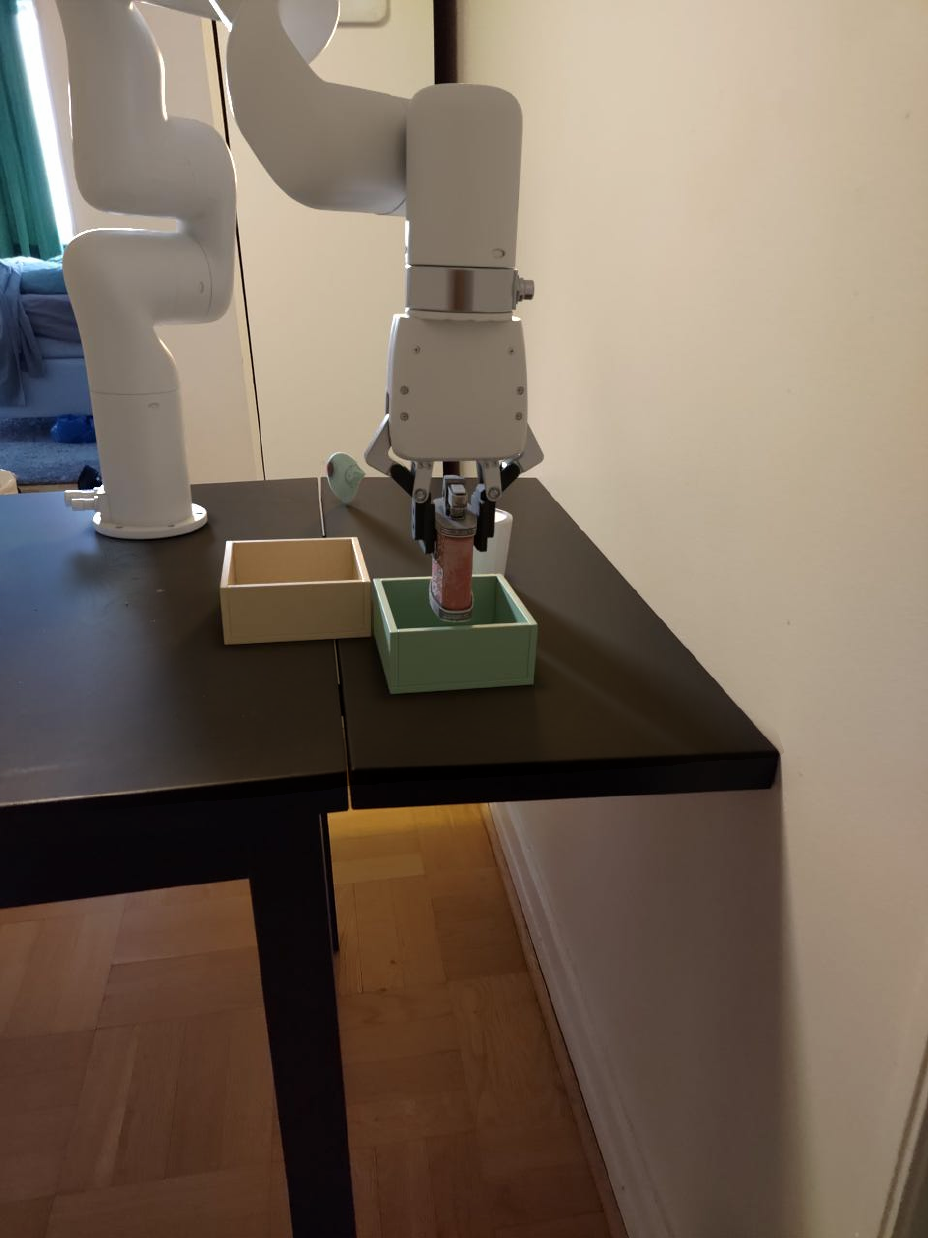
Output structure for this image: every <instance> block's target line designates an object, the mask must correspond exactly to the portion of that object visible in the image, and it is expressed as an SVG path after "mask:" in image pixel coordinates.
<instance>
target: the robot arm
mask: <svg viewBox="0 0 928 1238" xmlns="http://www.w3.org/2000/svg"><path fill="white" fill-rule="evenodd" d="M134 2H139V3H144V4H147V5H152V6H155V7H158V8H159V7H160V8H163V9H166V10H170V11H175V12H179V13H183V14H187V15H190V16H195V17H199V18H204V19H206V20H207V19H208V20H211V21H214V22H215V21H216V22H221V23H224V24H225V26H226V27H227V28H228V31H229V34H228V38H227V43H226V47H225V48H226V50H225V79H226V87H227V96H228V100H229V105H230V110H231V112H232V116H233V119H234V121H235V124H236V126H237V127H238V130H239V131H240V133H241V136H242V137H243V138H244V140H245V142H246V143H247V144H248V146H249V148H250V150H251V151H252V153H253V154H254V155H255V157H256V158H257V160H258V161H259V164H260V165H261V166H262V167H263V169H264V170H265V172H266V173H267V175H268V176H270V178H271V180H272V181H273V182H274V184H276V186H277V187H278V188H280V190H282V192H284V193H285V194H286V195H287V196H288V197H289V198H291V200H293V201H295V202H297V203H298V204H300V205H302V206H304V207H307V208H309V209H314V210H319V211H331V212H347V213H361V214H362V213H363V214H373V215H377V216H387V217H400V218H405V264H406V265H405V313H395V314H393V319H392V323H391V328H390V335H389V342H388V347H387V348H388V349H387V361H386V371H385V372H386V374H385V387H384V389H385V391H384V413H383V414H384V415H383V416H384V417H383V420H382V422H381V423H380V425H379V427H378V429H377V430H376V432H375V434H374V436H373V437H372V439H371V440H370V443H369V444H368V446H367V448H366V450H365V451H364V453H363V459H364V461H365V463H366V464H367V465H368V466H369V467H371V468H373V469H375V470H376V471H378V472H380V473H382V474H383V475H385V476H387V477H389V478H391V479H392V480H394V482H395V483H396V484H397V485H398V486H400V487H401V489H403V490H404V491H405V493H407V494H408V495H409V496H410V497H411V537H412V540H413V541H418V542H419V545H420V547H421V550H422V552H423V553H424V555H432V552H434V549H435V504H434V502H433V498H432V493H431V484H432V479H433V471H434V465H435V462H475V467H476V468H475V469H476V476H477V486H475V491H473V493H472V494H471V495H470V505H471V506H472V508H473V509H474V510H475V512H476V515H477V529H476V534H475V535H474V543H473V545H474V547H475V548H476V550H479V552H487V543H488V538H493V537H494V527H495V509H496V506H497V505H496V504H497V501H499V500H500V499H501V498H502V494H503V492H505V491H506V490H507V489H508V488H509V487H510V486H511V484H513V483H514V482H515V481H516V480H517V479H518V478H519V477H520V475H522V474H524V473H526V472H528V471H530V470H531V469H533V468H534V467H536V466H538V465H540V464H541V463H542V462H544V460H545V455H544V452H543V450H542V448H541V446H540V444H539V442H538V440H537V438H536V436H535V435H534V432H533V430H532V428H531V426H530V424H529V423H528V421H529V420H528V417H529V415H528V414H529V413H528V411H529V408H528V407H529V404H528V403H529V400H528V399H529V398H528V368H527V356H526V355H527V354H526V346H525V337H524V328H523V321H522V319H521V318H520V317H516V316H514V311H516V310H517V305H518V303H523V301H532V300H533V299H534V296H535V281H534V280H533V279H525V278H523V277H520V274H519V270H518V269H515V268H516V262H517V261H516V259H517V243H518V241H517V240H518V227H519V225H518V224H519V205H520V204H519V203H520V201H519V200H520V188H521V185H520V183H521V167H522V150H523V149H522V147H523V129H524V128H523V126H524V125H523V124H524V123H523V122H524V121H523V117H524V116H523V111H522V106H521V104H520V102H519V100H518V99H517V97H516V96H515V95H514V94H513V93H511V92H510V91H508V90H506V89H503V88H502V87H498V86H493V85H487V84H479V83H467V82H466V83H465V82H454V83H453V82H449V83H438V84H432V85H429V86H425V87H423V88H420V89H418V90H417V91H416V92H415V94H413V96H412V97H411V98H408V97H407V98H406V97H402V96H397V95H392V94H390V93H388V92H387V93H386V92H381V91H377V90H371V89H367V88H361V87H357V86H352V85H347V84H341V83H336V82H329V81H326V80H324V79H323V78H321V77H320V76H319V75H318V74H317V73H316V72H315V71H314V70H313V69H312V67H311V66H310V64H312V63H313V62H314V61H315V60H316V59H317V58H318V57H319V56H320V55H321V54H322V53H323V51H325V49H326V48H327V47H328V45H329V43H330V41H331V39H332V38H333V36H334V33H335V32H336V28H337V25H338V21H339V17H340V9H341V3H340V0H54V3H55V5H56V8H57V13H58V15H59V19H60V22H61V28H62V31H63V35H64V40H65V48H66V57H67V58H66V59H67V80H68V81H67V82H68V97H69V98H68V99H69V117H70V118H69V119H70V134H71V148H72V149H71V150H72V151H71V152H72V161H73V162H72V163H73V170H74V177H75V181H76V185H77V189H78V191H79V193H80V195H81V197H82V199H83V200H84V201H85V203H87V204H88V205H89V206H91V207H92V208H94V209H95V210H97V211H100V212H102V213H106V214H109V215H110V214H112V215H117V216H126V217H137V218H150V219H152V218H153V219H166V220H168V219H169V220H175V227H176V231H163V230H149V229H136V228H135V229H133V228H114V227H113V228H97V229H91V230H86V231H84V232H81V233H79V234H77V235H76V236H74V237H72V238H71V239H70V241H69V242H68V243H67V245H66V246H65V248H64V250H63V253H62V258H61V270H62V276H63V281H64V285H65V288H66V292H67V295H68V298H69V302H70V305H71V308H72V311H73V314H74V317H75V318H74V319H75V321H76V324H77V329H78V333H79V336H80V341H81V346H82V352H83V356H84V362H85V370H86V374H87V375H86V377H87V384H88V389H89V395H90V396H89V397H90V403H91V404H90V405H91V410H92V416H93V425H94V432H95V433H94V434H95V439H96V446H97V453H98V454H97V455H98V462H99V468H100V475H101V482H102V485H101V486H100V487H94V488H93V491H92V490H91V491H89V490H88V491H83V490H65V491H64V494H63V499H64V505H65V508H69V509H70V508H71V510H72V511H73V512H85V511H94V512H95V515H94V516H93V517H92V524H93V529H94V530H95V531H96V532H97V533H99V534H101V535H103V536H107V537H109V538H117V539H125V540H154V539H155V540H156V539H163V538H164V539H165V538H171V537H176V536H177V537H178V536H180V535H185V534H189V533H192V532H194V531H197V530H199V529H201V528H202V527H204V525H206V524H207V522H208V514H207V512H208V511H207V510H206V509H205V508H204V507H202V506H201V505H198V504H196V503H193V498H192V491H191V489H192V488H191V480H190V479H191V478H190V468H189V467H190V466H189V457H188V446H187V437H186V428H185V427H186V426H185V417H184V416H185V415H184V405H183V396H182V385H181V384H182V383H181V376H180V370H179V366H178V364H177V362H176V360H175V357H174V356H173V354H172V352H171V351H170V350H169V348H168V347H167V346H166V345H165V344H164V342H163V341H162V339H161V338H160V336H158V334H157V332H156V331H155V327H163V326H182V325H184V326H185V325H201V324H210V323H214V322H217V321H219V320H221V318H223V317H224V316H225V314H226V313H227V312H228V310H229V308H230V306H231V304H232V300H233V293H234V286H235V267H236V266H235V265H236V239H237V237H236V236H237V235H236V234H237V211H238V210H237V209H238V208H237V207H238V183H237V182H238V181H237V173H236V168H235V167H236V166H235V163H234V160H233V156H232V155H233V154H232V152H231V149H230V148H229V145H228V143H227V142H226V140H225V138H224V137H223V136H222V134H221V133H220V132H219V131H218V130H217V129H216V128H214V127H213V126H211V124H208V123H206V122H203V121H202V120H198V119H194V118H189V117H184V116H183V117H181V116H177V115H176V116H175V115H168V114H167V111H166V99H165V98H166V97H165V84H166V83H165V80H166V78H165V76H166V75H165V74H166V73H165V63H164V59H163V56H162V51H161V50H160V47H159V45H158V43H157V41H156V38H155V36H154V34H153V32H152V30H151V28H150V26H149V24H148V22H147V21H146V19H145V17H144V16H143V14H142V13H141V11H140V10H139V8H138V7H137V6H136V4H135V3H134ZM391 449H392V452H393V455H395V456H396V457H398V458H399V459H402V460H404V461H405V460H406V461H410V465H409V468H408V467H407V466H406V465H405V464H404V463H403V462H401V461H399V460H397V459H395V458H394V457H392V456H391V455H389V451H390V450H391ZM500 461H501V462H500Z"/></svg>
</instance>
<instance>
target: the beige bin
mask: <svg viewBox="0 0 928 1238" xmlns="http://www.w3.org/2000/svg"><path fill="white" fill-rule="evenodd" d="M223 556H224V557H223V564H222V570H221V576H220V577H221V578H220V585H219V595H220V607H221V620H222V631H223V642H224V645H225V646H226V645H227V646H229V645H246V644H248V645H249V644H264V643H281V642H282V643H283V642H299V641H300V642H302V641H319V640H320V641H321V640H336V639H337V640H338V639H356V638H357V639H358V638H371V637H372V594H371V593H372V591H371V589H372V587H371V586H372V585H371V578H370V575H369V572H368V569H367V565H366V562H365V559H364V555H363V552H362V549H361V546H360V543H359V539H358V537H357V536H352V537H351V536H349V537H348V536H347V537H319V538H318V537H316V538H287V539H285V538H284V539H283V538H282V539H254V540H253V539H252V540H227V541H226V543H225V549H224V555H223Z"/></svg>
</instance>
